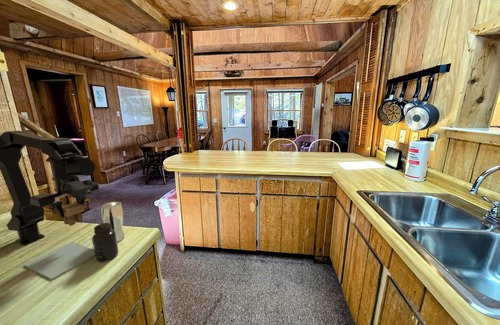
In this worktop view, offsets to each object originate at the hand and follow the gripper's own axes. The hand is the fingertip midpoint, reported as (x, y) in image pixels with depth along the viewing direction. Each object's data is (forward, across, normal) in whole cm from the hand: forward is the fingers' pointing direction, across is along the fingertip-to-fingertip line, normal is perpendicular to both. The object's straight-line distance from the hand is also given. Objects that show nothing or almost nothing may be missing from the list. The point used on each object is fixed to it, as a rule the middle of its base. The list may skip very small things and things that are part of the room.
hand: (72, 214), depth 77 cm
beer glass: (+13, +8, -10) cm, 18 cm away
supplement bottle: (+13, 0, -16) cm, 21 cm away
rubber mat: (+13, -7, -4) cm, 15 cm away
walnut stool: (+3, 0, 0) cm, 3 cm away
